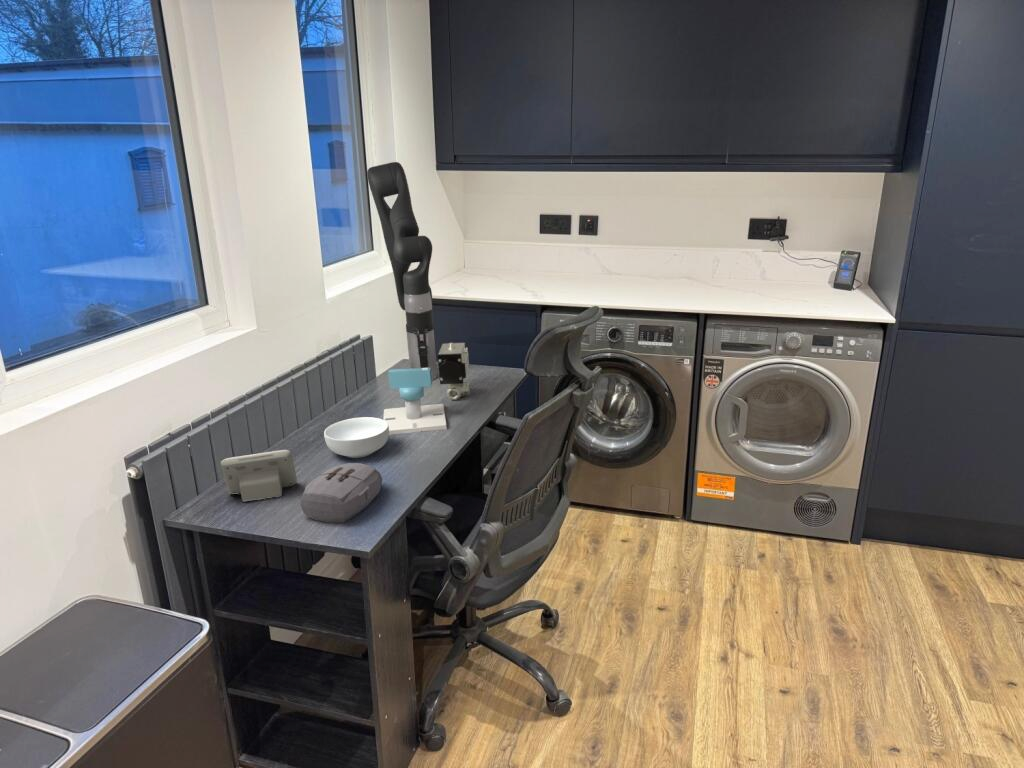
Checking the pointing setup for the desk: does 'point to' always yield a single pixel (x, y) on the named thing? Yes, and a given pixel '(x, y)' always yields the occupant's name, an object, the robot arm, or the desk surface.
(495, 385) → the desk surface
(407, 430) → the base plate
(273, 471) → the digital clock
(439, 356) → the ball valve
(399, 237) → the robot arm
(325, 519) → the small grey backpack
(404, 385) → the blue switch lever
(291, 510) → the desk surface
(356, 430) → the cereal bowl
